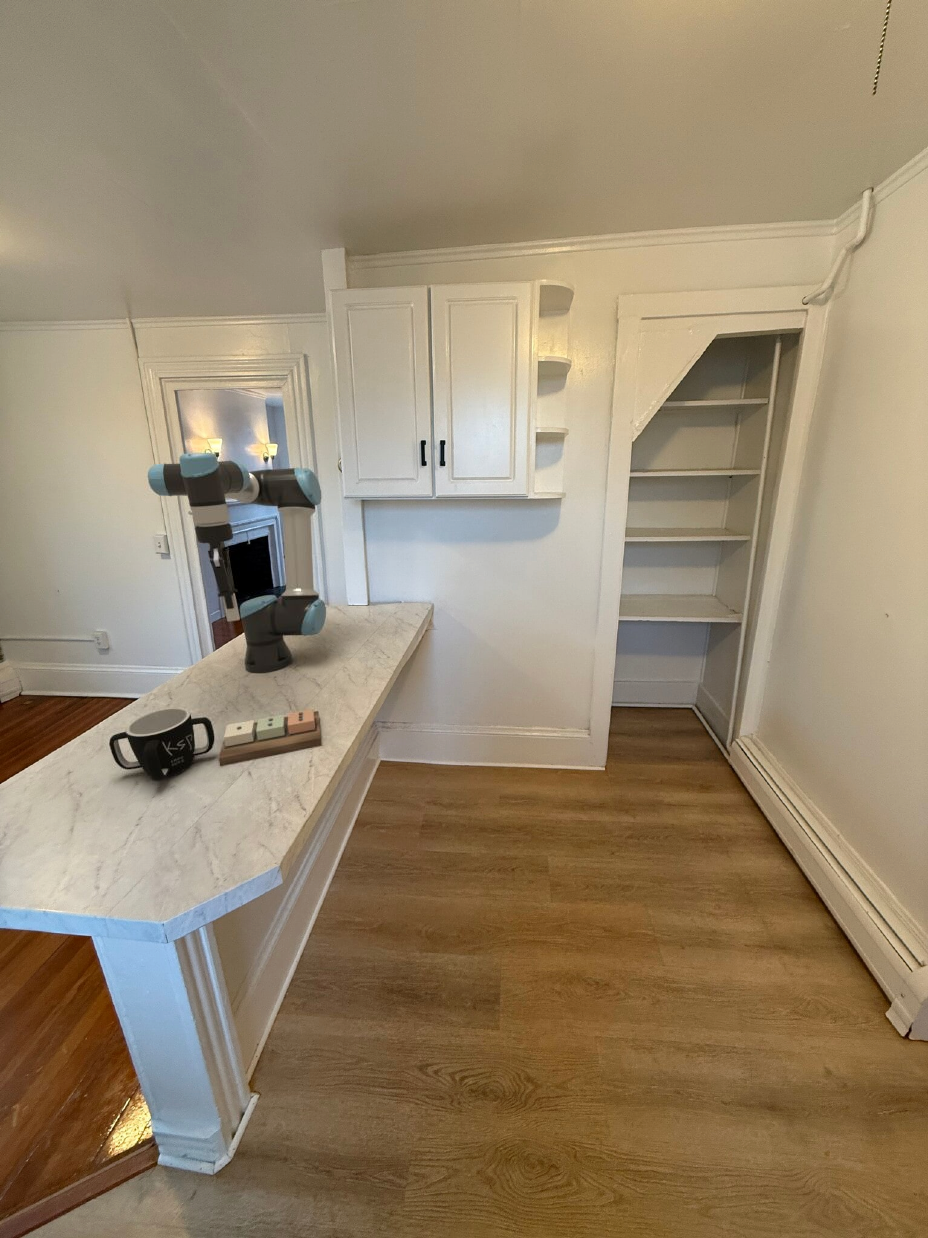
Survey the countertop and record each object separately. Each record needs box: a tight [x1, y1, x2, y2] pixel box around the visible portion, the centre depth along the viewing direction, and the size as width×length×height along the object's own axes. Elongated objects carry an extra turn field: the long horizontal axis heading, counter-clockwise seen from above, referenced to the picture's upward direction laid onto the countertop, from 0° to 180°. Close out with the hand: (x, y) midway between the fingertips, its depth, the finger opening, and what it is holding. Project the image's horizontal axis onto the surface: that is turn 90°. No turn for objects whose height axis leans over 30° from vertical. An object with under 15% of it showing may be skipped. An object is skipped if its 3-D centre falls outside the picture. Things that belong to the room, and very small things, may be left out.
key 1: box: [223, 719, 256, 746], centre depth 113 cm, size 6×6×3 cm
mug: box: [109, 707, 215, 782], centre depth 105 cm, size 16×16×12 cm
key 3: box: [287, 708, 315, 734], centre depth 117 cm, size 6×6×3 cm
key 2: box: [256, 714, 286, 740], centre depth 115 cm, size 6×6×3 cm
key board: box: [218, 710, 322, 767], centre depth 116 cm, size 14×22×2 cm, turn 108°
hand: (233, 619), depth 117 cm, fingers closed
